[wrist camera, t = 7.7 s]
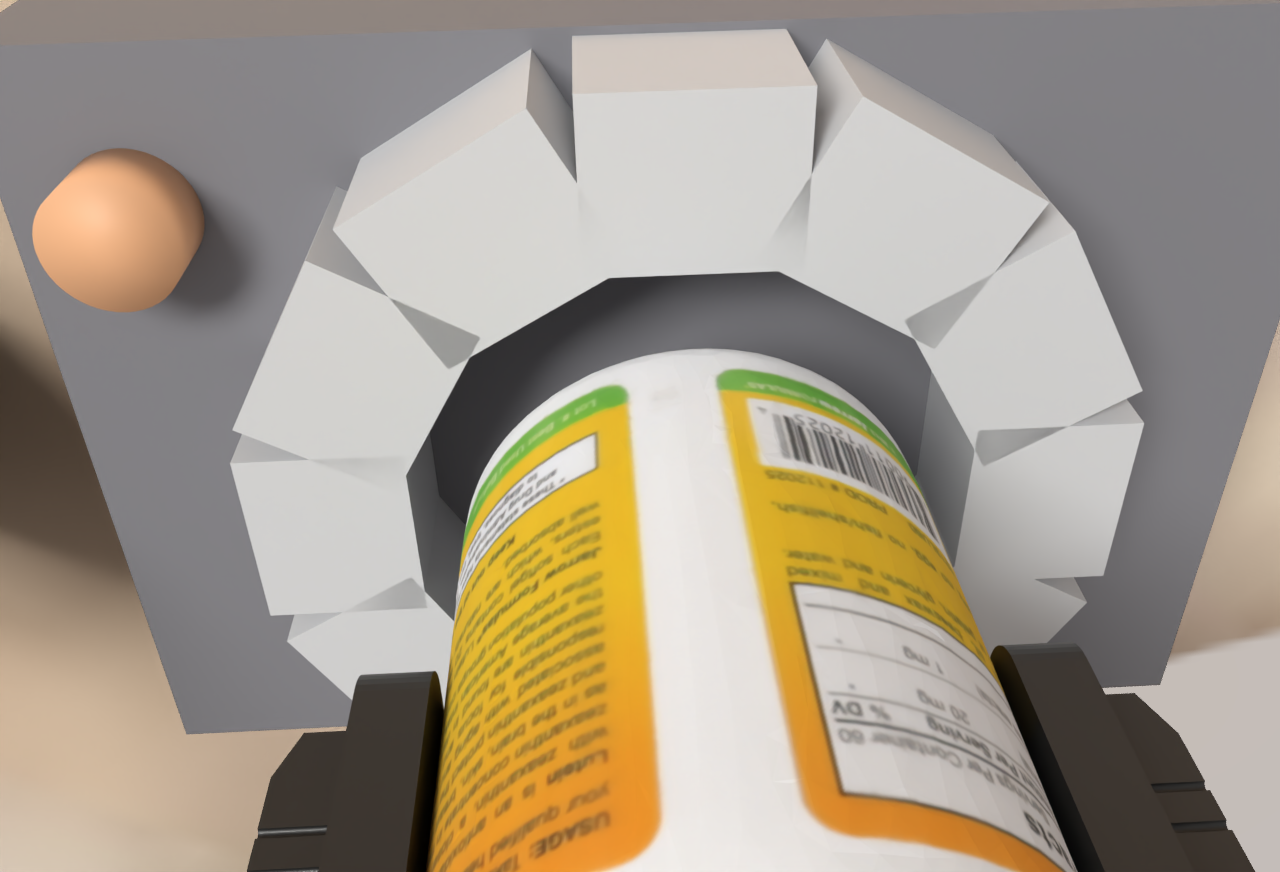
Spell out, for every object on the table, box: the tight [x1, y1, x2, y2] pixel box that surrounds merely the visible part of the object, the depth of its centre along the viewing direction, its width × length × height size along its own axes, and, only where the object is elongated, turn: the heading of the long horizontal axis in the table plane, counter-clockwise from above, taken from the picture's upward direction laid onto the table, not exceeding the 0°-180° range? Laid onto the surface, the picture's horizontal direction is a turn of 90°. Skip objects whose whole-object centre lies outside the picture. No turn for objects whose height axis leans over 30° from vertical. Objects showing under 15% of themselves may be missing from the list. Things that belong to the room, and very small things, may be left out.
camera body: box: [0, 0, 1280, 734], centre depth 17 cm, size 16×11×6 cm
